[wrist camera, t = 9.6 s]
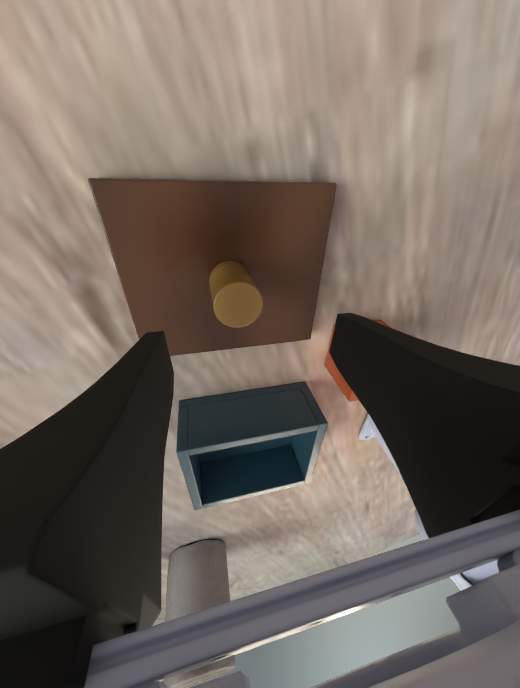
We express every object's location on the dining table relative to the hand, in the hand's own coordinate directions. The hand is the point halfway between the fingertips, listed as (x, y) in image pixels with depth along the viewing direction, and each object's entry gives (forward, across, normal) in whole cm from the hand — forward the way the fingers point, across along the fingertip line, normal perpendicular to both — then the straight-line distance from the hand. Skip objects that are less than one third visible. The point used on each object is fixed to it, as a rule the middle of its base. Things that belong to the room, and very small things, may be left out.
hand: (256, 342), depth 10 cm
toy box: (+8, -1, +16) cm, 18 cm away
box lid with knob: (+8, 0, 0) cm, 8 cm away
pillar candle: (+8, +8, +49) cm, 50 cm away
